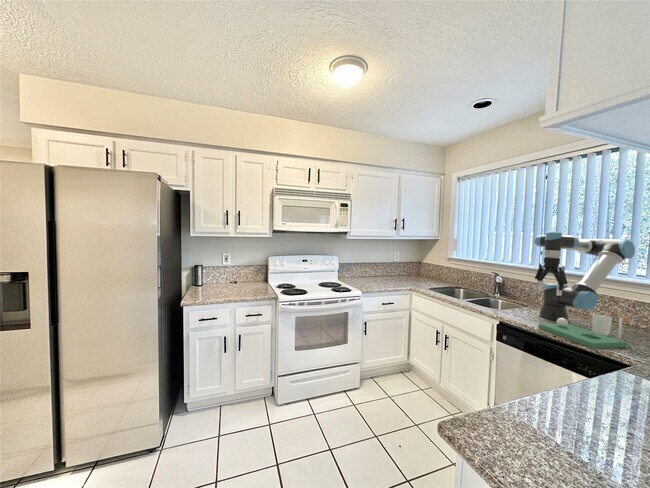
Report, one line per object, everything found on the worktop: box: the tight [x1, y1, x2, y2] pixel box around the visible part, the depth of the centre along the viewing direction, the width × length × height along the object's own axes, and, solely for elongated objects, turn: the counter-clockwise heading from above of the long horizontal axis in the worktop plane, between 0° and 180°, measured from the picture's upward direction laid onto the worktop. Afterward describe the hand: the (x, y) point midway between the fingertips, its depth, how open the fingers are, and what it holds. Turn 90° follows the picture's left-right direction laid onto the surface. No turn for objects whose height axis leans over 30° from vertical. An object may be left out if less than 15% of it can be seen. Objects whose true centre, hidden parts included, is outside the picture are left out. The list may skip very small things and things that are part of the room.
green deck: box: [538, 317, 629, 349], centre depth 146 cm, size 22×28×14 cm
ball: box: [556, 318, 569, 327], centre depth 155 cm, size 5×5×5 cm
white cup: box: [591, 313, 613, 337], centre depth 153 cm, size 8×8×10 cm
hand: (549, 293), depth 163 cm, fingers open, 11 cm apart
